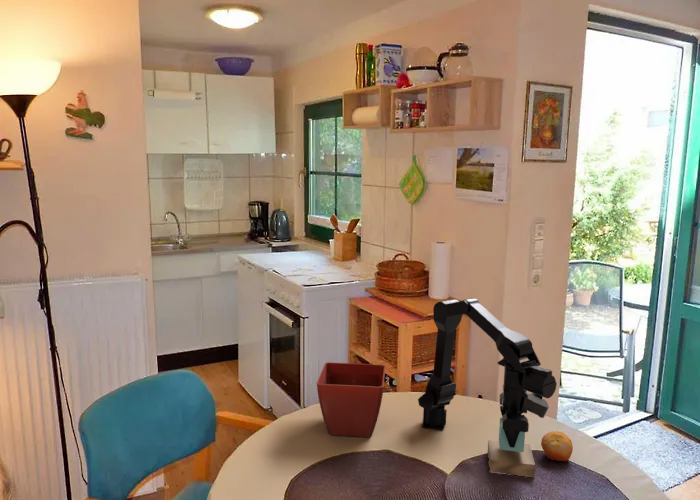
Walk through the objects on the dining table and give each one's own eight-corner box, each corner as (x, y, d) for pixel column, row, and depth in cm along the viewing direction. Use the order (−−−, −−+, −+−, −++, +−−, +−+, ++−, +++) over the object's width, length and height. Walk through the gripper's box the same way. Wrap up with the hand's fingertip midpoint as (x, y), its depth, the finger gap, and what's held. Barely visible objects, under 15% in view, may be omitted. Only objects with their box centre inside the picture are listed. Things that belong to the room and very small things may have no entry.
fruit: (571, 445, 157) (573, 428, 152) (570, 471, 151) (573, 454, 146) (540, 440, 159) (542, 424, 154) (539, 465, 153) (541, 449, 149)
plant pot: (324, 411, 179) (325, 361, 177) (384, 415, 177) (385, 364, 175) (315, 439, 160) (316, 383, 158) (381, 444, 158) (383, 387, 156)
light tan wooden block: (489, 474, 144) (490, 460, 144) (487, 453, 155) (488, 440, 154) (534, 479, 142) (535, 464, 142) (528, 458, 153) (529, 444, 152)
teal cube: (499, 449, 146) (501, 427, 145) (498, 438, 151) (500, 417, 150) (523, 452, 144) (525, 430, 143) (521, 441, 150) (523, 420, 149)
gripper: (552, 402, 135) (547, 463, 137) (543, 375, 153) (539, 429, 155) (504, 397, 137) (500, 457, 139) (500, 371, 155) (497, 425, 157)
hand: (511, 441), depth 148 cm, fingers closed on teal cube, 6 cm apart
